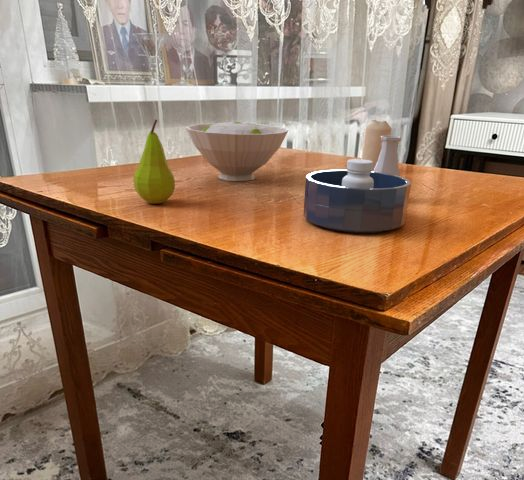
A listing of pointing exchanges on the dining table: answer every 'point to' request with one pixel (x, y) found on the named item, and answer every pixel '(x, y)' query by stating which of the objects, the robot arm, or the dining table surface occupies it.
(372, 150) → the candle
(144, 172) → the fruit
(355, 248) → the dining table surface
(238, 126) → the bowl
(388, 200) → the blue dish
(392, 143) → the flask
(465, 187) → the dining table surface
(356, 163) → the pill bottle
